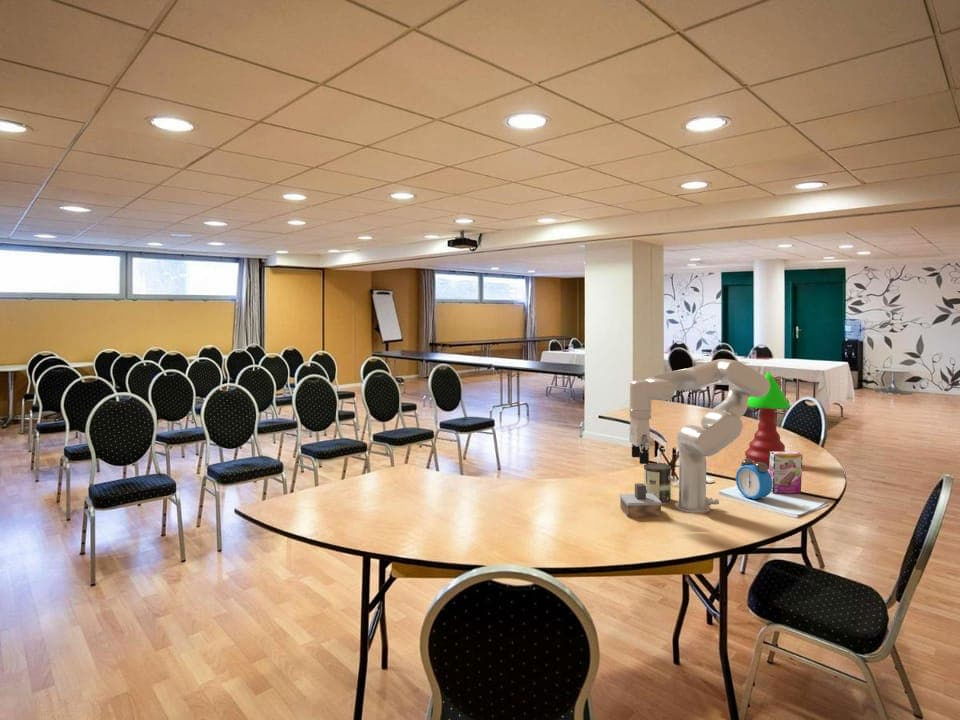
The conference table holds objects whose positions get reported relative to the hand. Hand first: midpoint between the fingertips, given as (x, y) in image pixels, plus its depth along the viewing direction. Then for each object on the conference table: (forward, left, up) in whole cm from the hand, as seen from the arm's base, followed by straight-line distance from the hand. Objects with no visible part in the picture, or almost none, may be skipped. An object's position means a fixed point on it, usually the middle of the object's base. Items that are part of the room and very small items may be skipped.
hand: (640, 460), depth 215 cm
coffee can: (-11, -14, -20) cm, 27 cm away
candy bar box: (-66, -21, -20) cm, 72 cm away
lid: (0, 0, -15) cm, 15 cm away
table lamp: (-82, -66, -20) cm, 107 cm away
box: (0, 0, -20) cm, 20 cm away
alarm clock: (-50, -15, -20) cm, 56 cm away
